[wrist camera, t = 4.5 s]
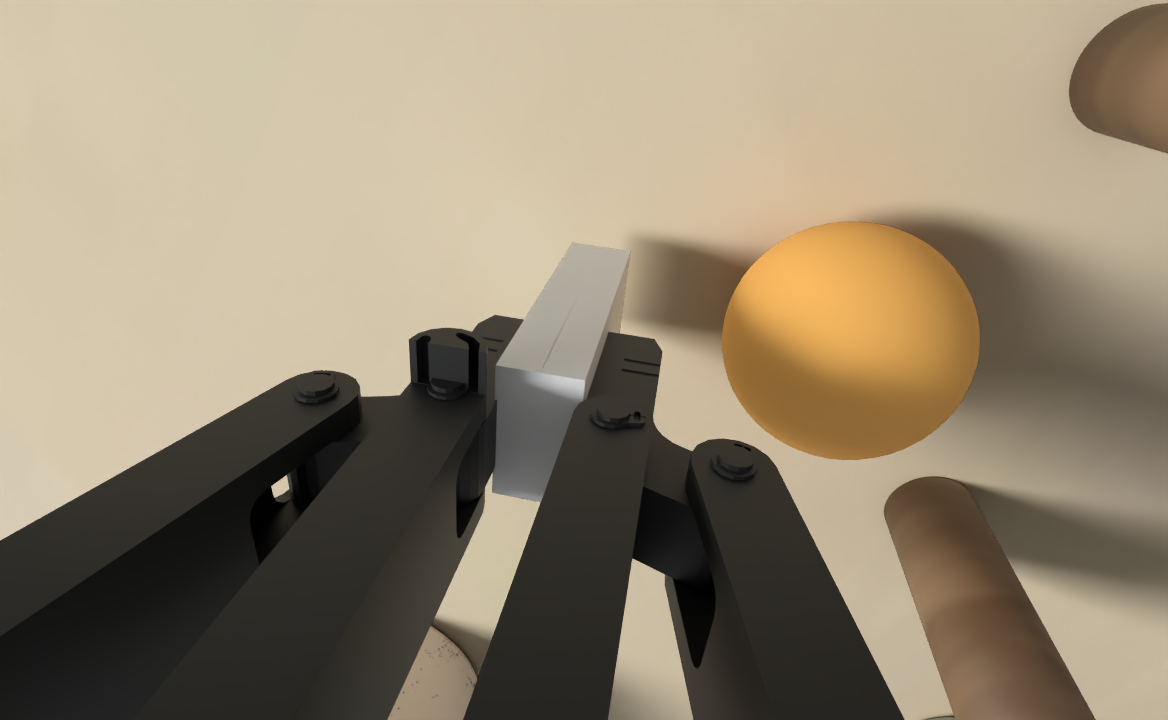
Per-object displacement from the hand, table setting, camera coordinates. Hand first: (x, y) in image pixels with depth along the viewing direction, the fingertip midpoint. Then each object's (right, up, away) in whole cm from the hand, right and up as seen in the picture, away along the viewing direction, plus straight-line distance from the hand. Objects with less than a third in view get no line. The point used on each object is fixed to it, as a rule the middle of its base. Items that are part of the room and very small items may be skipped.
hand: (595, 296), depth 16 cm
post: (+11, -6, +3) cm, 13 cm away
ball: (+6, -1, -2) cm, 6 cm away
